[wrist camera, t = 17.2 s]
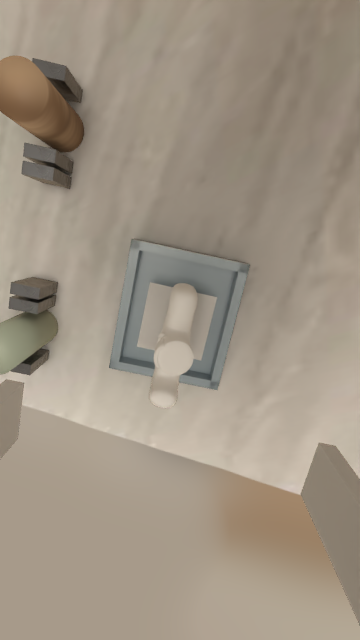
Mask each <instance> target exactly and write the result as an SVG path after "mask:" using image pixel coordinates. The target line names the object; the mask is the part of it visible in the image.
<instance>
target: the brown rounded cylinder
mask: <svg viewBox="0 0 360 640" xmlns="http://www.w3.org/2000/svg"><path fill="white" fill-rule="evenodd" d="M0 111H1V112H2V113H3V114H5V115H6V116H7V117H9V118H10V119H12V120H13V121H14V122H16V123H17V124H19V125H20V126H22V127H23V128H24V129H26V130H27V131H29V132H30V133H32V134H33V135H35V136H36V137H37V138H39V139H40V140H42V141H43V142H45V143H46V144H47V145H49V146H50V147H52V148H53V149H55V150H57V151H59V152H70V151H73V150H75V149H76V148H77V147H78V146H79V145H80V144H81V142H82V139H83V136H84V127H83V123H82V120H81V119H80V117H79V116H78V114H77V113H76V112H75V111H74V110H73V108H72V107H71V106H70V105H69V104H68V102H67V101H66V100H65V99H64V98H63V97H62V95H61V94H60V93H59V92H58V91H57V89H56V88H55V87H54V86H53V85H52V84H51V82H50V81H49V80H48V79H47V78H46V76H45V75H44V74H43V73H42V72H41V71H40V69H39V68H38V67H37V66H36V65H35V64H34V63H33V62H32V61H30V60H29V59H26V58H24V57H21V56H9V57H6V58H4V59H2V60H1V61H0Z"/></svg>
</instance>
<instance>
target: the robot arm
mask: <svg viewBox="0 0 360 640" xmlns="http://www.w3.org/2000/svg"><path fill="white" fill-rule="evenodd" d="M23 388H24V383H22V382H17V381H12V380H7V379H6V380H5V381H4V382H2V383H1V384H0V459H1V458H2V457H3V456H4V455H5V453H6V452H7V451H8V450H9V449H10V447H11V446H12V445H13V444H14V443H15V441H16V440H17V439H18V432H19V424H20V414H21V406H22V397H23ZM301 496H302V498H303V500H304V503H305V505H306V507H307V509H308V512H309V514H310V516H311V518H312V521H313V523H314V525H315V527H316V529H317V531H318V534H319V536H320V538H321V540H322V543H323V545H324V547H325V549H326V552H327V554H328V556H329V558H330V561H331V563H332V565H333V567H334V569H335V571H336V574H337V576H338V578H339V580H340V583H341V585H342V587H343V589H344V592H345V594H346V596H347V598H348V600H349V602H350V605H351V607H352V609H353V611H354V614H355V616H356V618H357V620H358V623H359V625H360V479H359V478H358V476H357V475H356V473H355V472H354V471H353V469H352V468H351V467H350V465H349V464H348V462H347V461H346V460H345V458H344V457H343V456H342V454H341V453H340V451H339V450H338V449H337V447H336V446H333V445H328V444H323V443H319V444H318V447H317V449H316V452H315V455H314V458H313V461H312V464H311V466H310V469H309V472H308V475H307V478H306V481H305V483H304V486H303V489H302V492H301Z"/></svg>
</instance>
